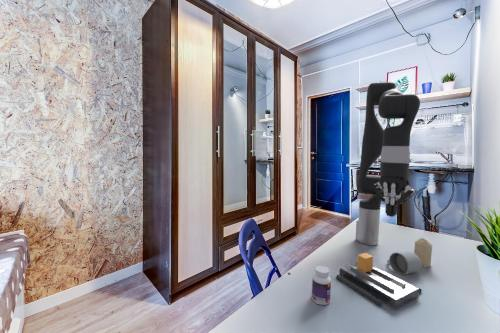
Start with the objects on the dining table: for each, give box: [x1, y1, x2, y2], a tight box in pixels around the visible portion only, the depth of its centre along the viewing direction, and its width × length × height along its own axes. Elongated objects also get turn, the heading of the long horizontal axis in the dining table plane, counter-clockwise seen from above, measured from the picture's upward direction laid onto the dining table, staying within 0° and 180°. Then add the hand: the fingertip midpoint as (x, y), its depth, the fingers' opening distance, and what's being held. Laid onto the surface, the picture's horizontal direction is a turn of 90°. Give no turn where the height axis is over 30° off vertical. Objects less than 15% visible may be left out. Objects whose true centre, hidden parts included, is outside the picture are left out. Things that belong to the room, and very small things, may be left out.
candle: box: [413, 238, 433, 268], centre depth 93 cm, size 6×6×10 cm
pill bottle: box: [311, 265, 332, 306], centre depth 70 cm, size 5×5×10 cm
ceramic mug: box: [386, 251, 423, 276], centre depth 88 cm, size 11×8×8 cm
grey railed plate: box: [335, 265, 423, 307], centre depth 78 cm, size 18×19×1 cm
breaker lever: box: [357, 252, 374, 272], centre depth 81 cm, size 3×4×5 cm
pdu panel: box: [338, 260, 420, 310], centre depth 78 cm, size 20×12×4 cm, turn 28°
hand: (390, 215), depth 73 cm, fingers closed
